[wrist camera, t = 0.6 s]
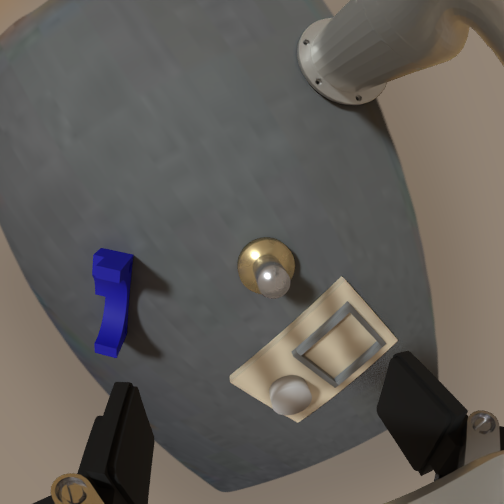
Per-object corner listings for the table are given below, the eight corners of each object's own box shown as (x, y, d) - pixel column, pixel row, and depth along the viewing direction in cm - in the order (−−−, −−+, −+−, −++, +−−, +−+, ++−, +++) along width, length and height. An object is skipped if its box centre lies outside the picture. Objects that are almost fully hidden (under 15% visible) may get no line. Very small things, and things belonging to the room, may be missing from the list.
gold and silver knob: (265, 225, 37) (275, 238, 31) (302, 262, 39) (318, 281, 33) (225, 265, 38) (227, 285, 32) (264, 299, 40) (272, 323, 34)
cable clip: (101, 247, 36) (84, 262, 30) (133, 254, 36) (120, 270, 31) (98, 326, 39) (84, 349, 33) (127, 333, 39) (116, 358, 34)
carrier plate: (341, 276, 40) (354, 289, 36) (393, 335, 45) (406, 350, 41) (229, 375, 43) (231, 395, 39) (296, 416, 48) (301, 434, 43)
